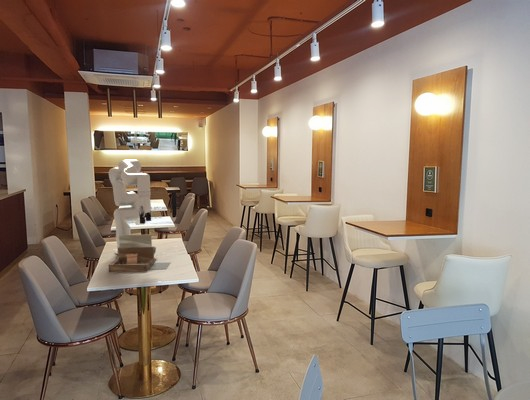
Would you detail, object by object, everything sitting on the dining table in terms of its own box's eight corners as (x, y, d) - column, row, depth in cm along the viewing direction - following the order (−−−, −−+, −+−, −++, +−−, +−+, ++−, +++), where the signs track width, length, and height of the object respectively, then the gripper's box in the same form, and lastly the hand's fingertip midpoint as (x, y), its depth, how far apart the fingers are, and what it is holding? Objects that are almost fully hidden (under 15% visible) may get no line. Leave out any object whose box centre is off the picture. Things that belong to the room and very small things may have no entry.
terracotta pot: (128, 265, 245) (127, 252, 244) (139, 265, 246) (138, 252, 245) (125, 268, 239) (124, 255, 238) (136, 268, 239) (135, 255, 238)
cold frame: (119, 262, 251) (117, 235, 249) (154, 261, 252) (152, 234, 250) (108, 271, 232) (106, 241, 230) (146, 270, 233) (144, 241, 231)
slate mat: (154, 263, 250) (154, 262, 249) (170, 262, 250) (170, 262, 250) (149, 269, 236) (149, 269, 236) (166, 269, 236) (166, 268, 236)
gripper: (143, 193, 247) (144, 219, 249) (132, 195, 230) (133, 224, 232) (155, 192, 246) (156, 219, 248) (144, 195, 229) (146, 224, 231)
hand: (145, 222), depth 240 cm, fingers open, 9 cm apart
